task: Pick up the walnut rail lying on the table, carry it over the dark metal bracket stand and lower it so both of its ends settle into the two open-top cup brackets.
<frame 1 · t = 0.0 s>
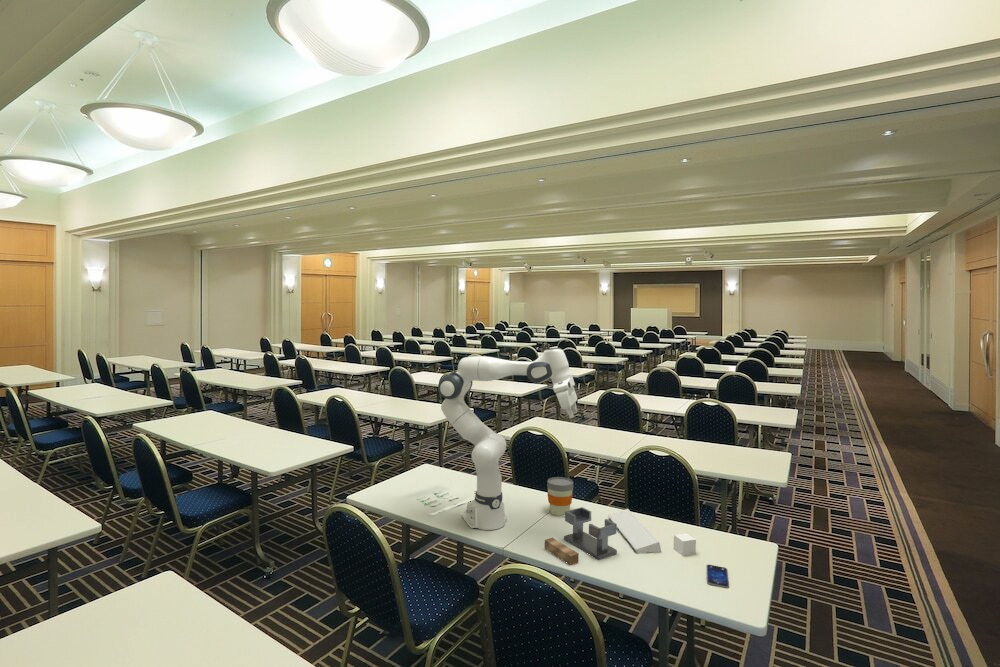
hand: (573, 415, 217), 52 cm above the table, tool tilted 20°, fingers open, 8 cm apart
printed paper: (435, 500, 259), on the table
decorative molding: (632, 536, 222), on the table
reusable coffee cup: (559, 512, 245), on the table
white cube: (684, 552, 207), on the table
bracket stand: (589, 546, 210), on the table
rail: (560, 556, 202), on the table
smartphone: (717, 578, 187), on the table
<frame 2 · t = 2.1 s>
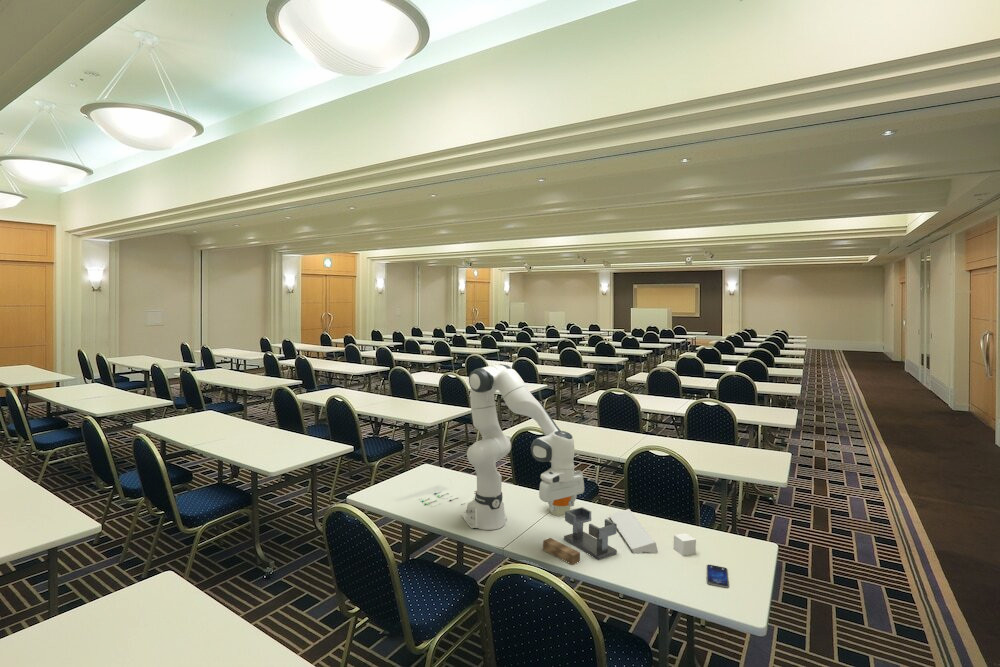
hand: (562, 508, 201), 19 cm above the table, tool pointing down, fingers open, 8 cm apart
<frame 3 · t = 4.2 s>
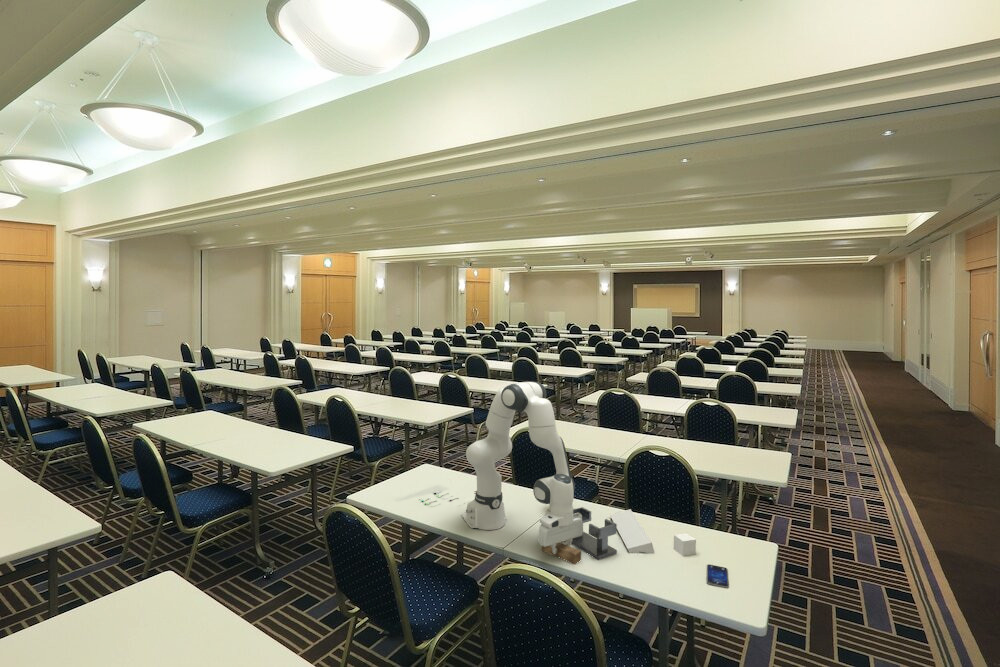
hand: (561, 551, 202), 2 cm above the table, tool pointing down, fingers closed on rail, 5 cm apart
rail: (561, 555, 202), on the table, touching gripper
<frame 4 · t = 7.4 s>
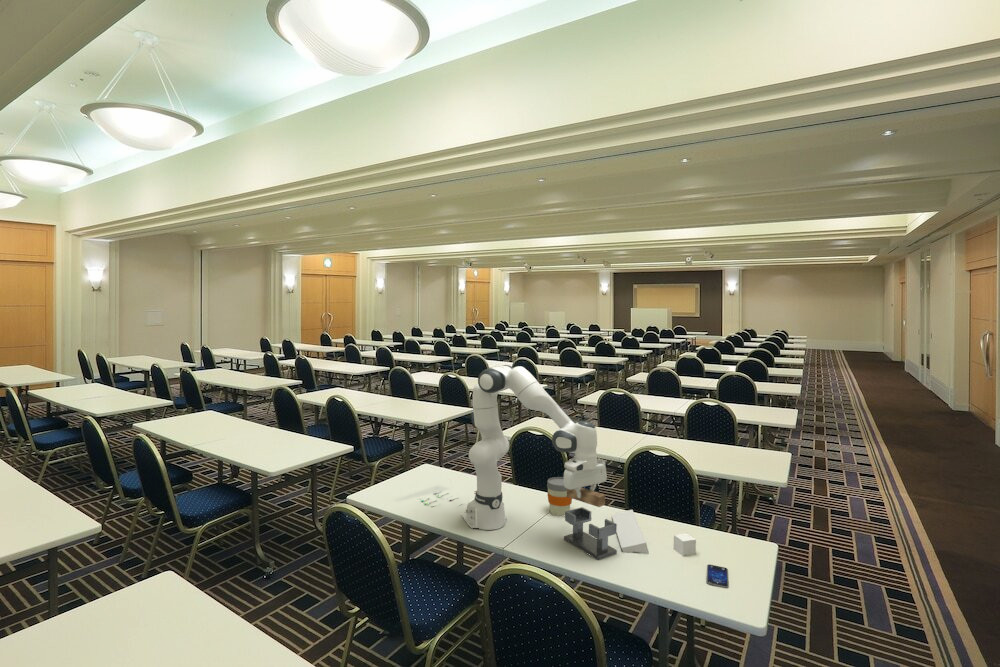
hand: (585, 496, 207), 22 cm above the table, tool pointing down, fingers closed on rail, 4 cm apart
rail: (585, 500, 207), point 20 cm above the table, touching gripper
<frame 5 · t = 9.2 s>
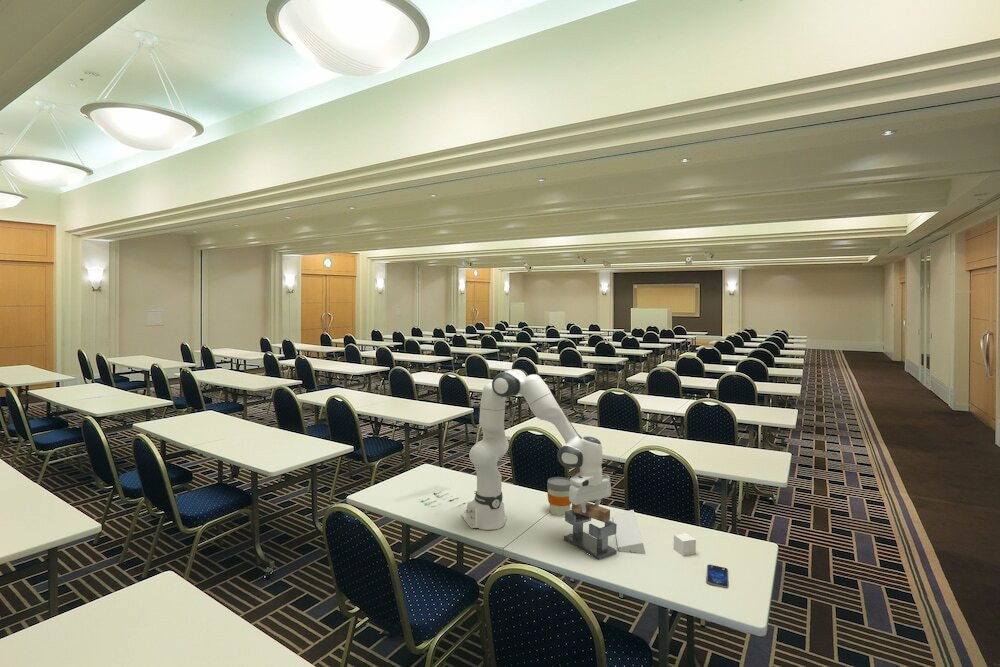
hand: (590, 510, 209), 15 cm above the table, tool pointing down, fingers closed on rail, 4 cm apart
rail: (590, 515, 209), point 13 cm above the table, touching gripper
when the fingers open (11 cm above the table, at t = 10.7 s): rail stays where it is, resting on bracket stand.
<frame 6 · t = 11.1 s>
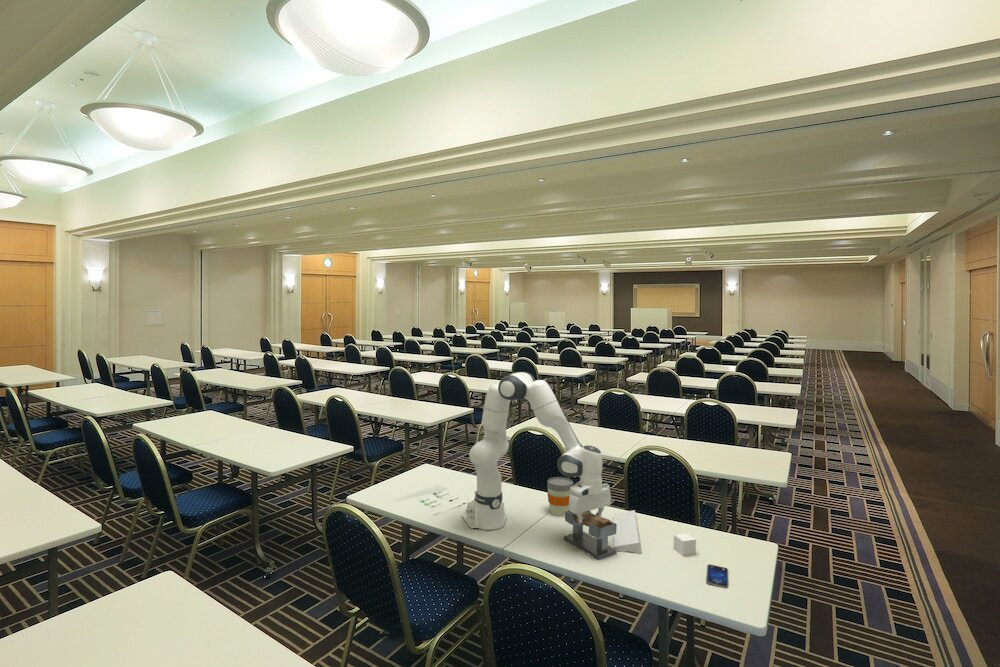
hand: (590, 519, 209), 11 cm above the table, tool pointing down, fingers open, 8 cm apart
rail: (590, 524, 209), point 9 cm above the table, touching bracket stand
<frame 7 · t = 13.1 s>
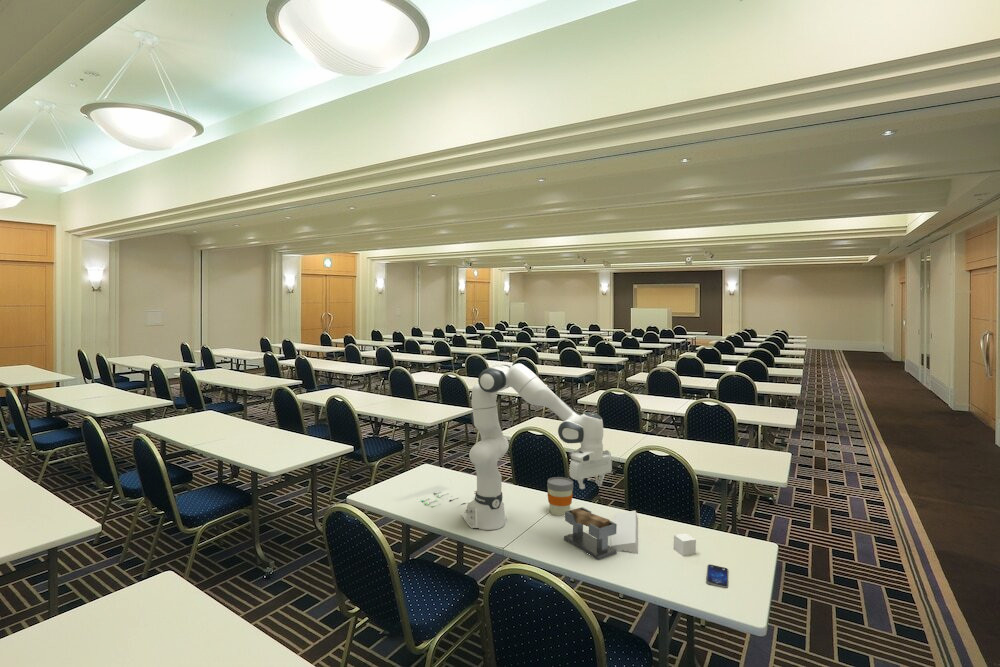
hand: (590, 486, 209), 25 cm above the table, tool pointing down, fingers open, 8 cm apart
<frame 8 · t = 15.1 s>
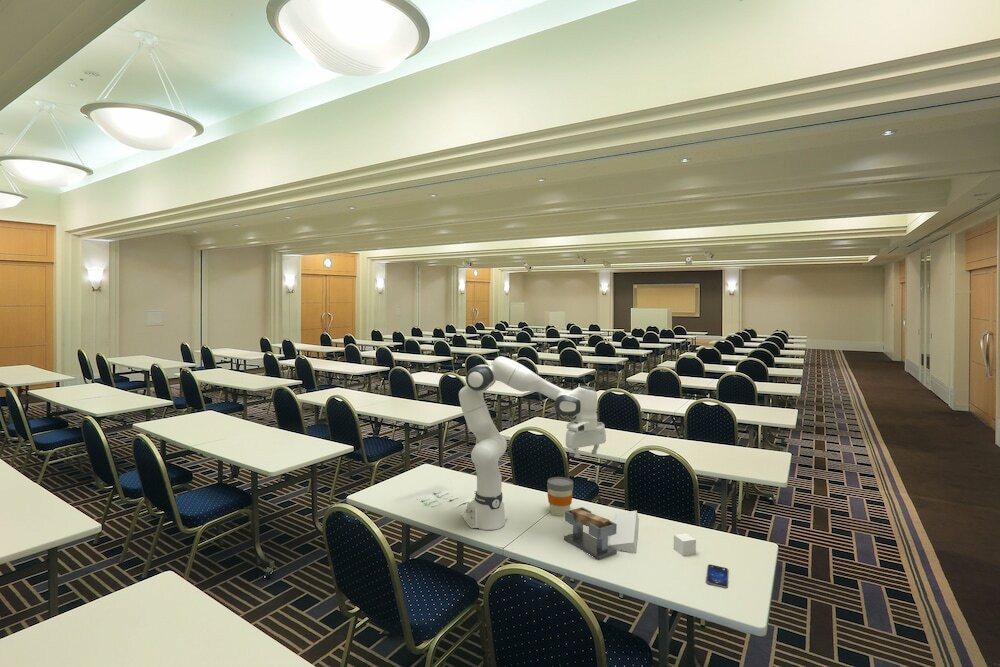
hand: (585, 455, 220), 34 cm above the table, tool pointing down, fingers open, 8 cm apart
at the end: rail 0.0 cm off-centre on the bracket stand, point 9.0 cm above the bracket stand's base; rail tilted 0°; the gripper is holding nothing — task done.
